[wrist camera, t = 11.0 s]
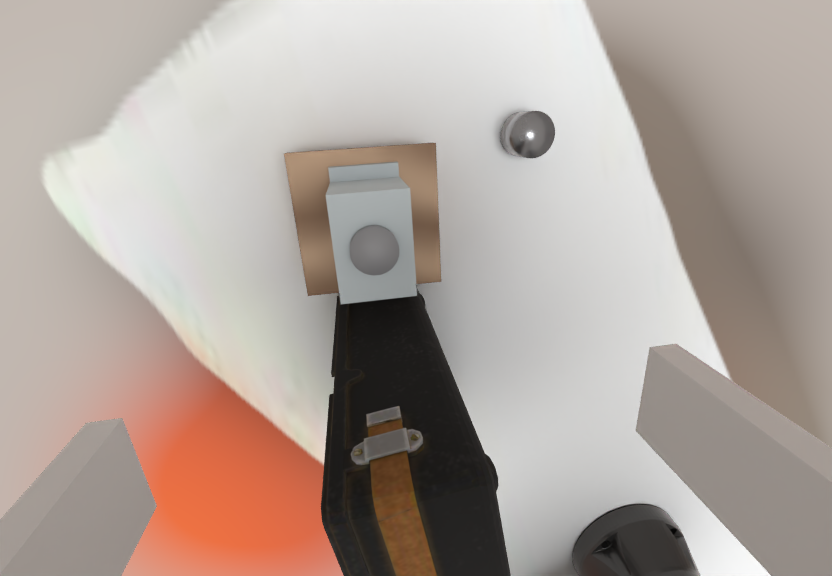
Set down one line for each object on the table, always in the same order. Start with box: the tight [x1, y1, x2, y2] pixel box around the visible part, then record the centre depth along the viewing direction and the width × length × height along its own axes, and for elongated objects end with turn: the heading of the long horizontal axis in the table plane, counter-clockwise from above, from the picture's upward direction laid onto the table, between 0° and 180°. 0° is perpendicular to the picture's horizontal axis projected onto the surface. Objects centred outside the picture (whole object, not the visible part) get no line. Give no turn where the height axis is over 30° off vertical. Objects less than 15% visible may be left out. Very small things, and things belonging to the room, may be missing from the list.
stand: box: [284, 143, 441, 296], centre depth 35 cm, size 11×11×5 cm
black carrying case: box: [321, 290, 511, 576], centre depth 31 cm, size 16×9×25 cm, turn 11°
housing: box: [326, 161, 417, 304], centre depth 29 cm, size 9×5×8 cm, turn 3°
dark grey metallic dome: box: [500, 111, 555, 158], centre depth 35 cm, size 4×4×3 cm
